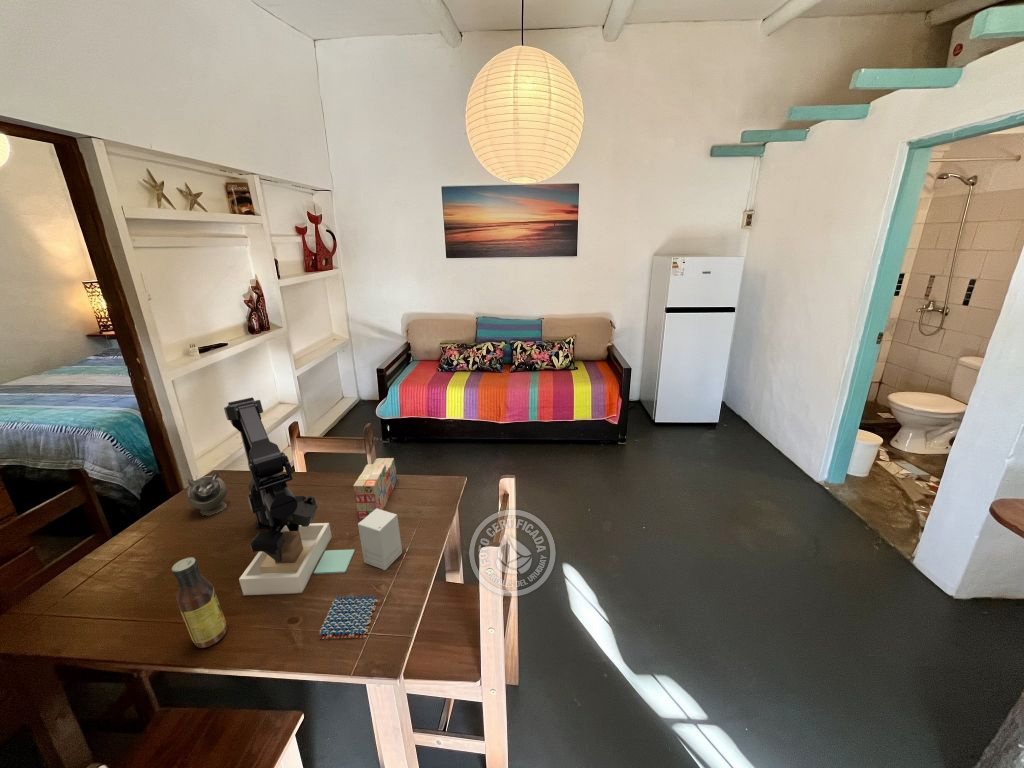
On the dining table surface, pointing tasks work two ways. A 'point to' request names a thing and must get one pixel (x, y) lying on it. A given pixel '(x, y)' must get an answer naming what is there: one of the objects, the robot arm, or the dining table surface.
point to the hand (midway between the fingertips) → (287, 548)
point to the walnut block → (291, 547)
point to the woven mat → (355, 612)
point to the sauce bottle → (198, 604)
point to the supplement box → (380, 538)
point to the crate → (287, 565)
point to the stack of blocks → (374, 486)
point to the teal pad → (334, 561)
